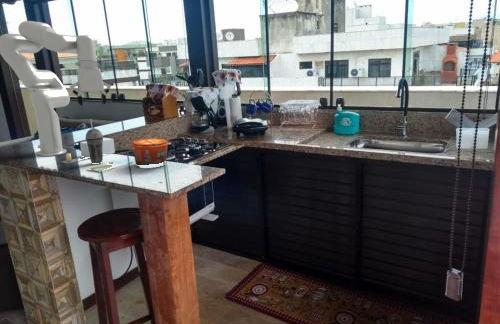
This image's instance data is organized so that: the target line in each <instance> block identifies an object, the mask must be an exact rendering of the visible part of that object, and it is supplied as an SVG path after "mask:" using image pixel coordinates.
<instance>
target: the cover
mask: <svg viewBox="0 0 500 324" xmlns="http://www.w3.org/2000/svg"><path fill="white" fill-rule="evenodd" d="M79 146H80V153H81V156H80V157H82V156H84V157H90V154H89V149H88V144H87V142H86V140H85V141H81V142H79ZM102 151H103V154H107V155H111V154H114V153H116V150H115V140H114V138H108V137H103V142H102Z"/></svg>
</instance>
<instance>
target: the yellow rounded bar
mask: <svg viewBox="0 0 500 324" xmlns="http://www.w3.org/2000/svg"><path fill="white" fill-rule="evenodd" d="M81 157H82V156H81ZM65 158H66V160H64V161H61V162H60V164H61V163H62V164H67V165H70V164H73V162H74V163H77V162H76V161H78V159H79V157H75V158H72V155H71V153H70V152H68V153H67V152H66V153H65ZM83 158H85V157H82V158H80V159H83ZM78 162H79V161H78ZM69 163H70V164H69Z"/></svg>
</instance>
